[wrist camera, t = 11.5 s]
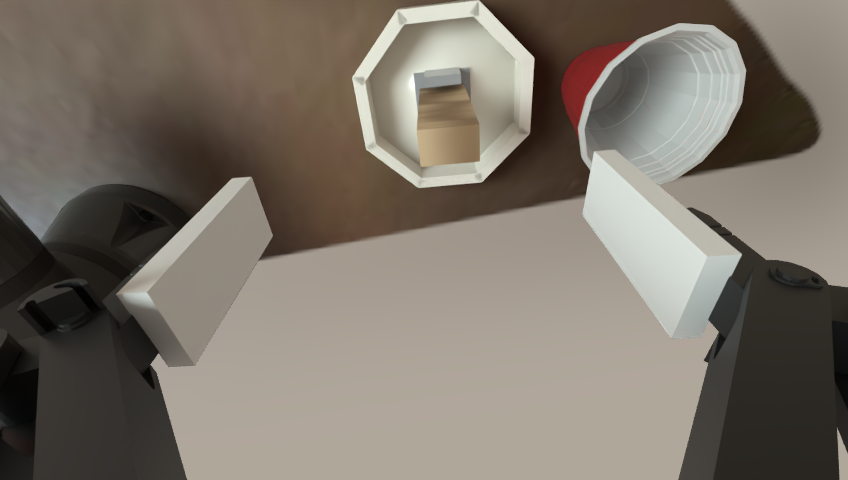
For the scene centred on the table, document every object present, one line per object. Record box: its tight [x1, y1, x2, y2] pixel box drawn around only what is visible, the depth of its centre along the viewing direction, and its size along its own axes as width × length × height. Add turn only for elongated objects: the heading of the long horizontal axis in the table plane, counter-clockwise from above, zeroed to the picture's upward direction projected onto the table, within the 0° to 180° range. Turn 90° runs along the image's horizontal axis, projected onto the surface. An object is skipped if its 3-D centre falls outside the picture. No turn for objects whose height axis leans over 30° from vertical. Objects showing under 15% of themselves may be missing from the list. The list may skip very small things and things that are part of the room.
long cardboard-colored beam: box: [417, 84, 480, 167], centre depth 29 cm, size 4×2×12 cm, turn 96°
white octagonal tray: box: [352, 0, 534, 188], centre depth 34 cm, size 15×15×4 cm
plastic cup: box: [561, 23, 746, 185], centre depth 29 cm, size 11×11×12 cm
